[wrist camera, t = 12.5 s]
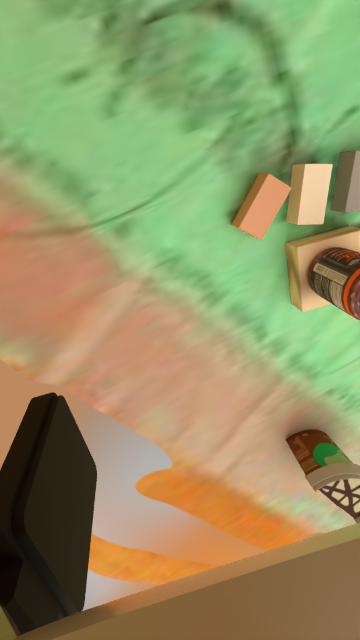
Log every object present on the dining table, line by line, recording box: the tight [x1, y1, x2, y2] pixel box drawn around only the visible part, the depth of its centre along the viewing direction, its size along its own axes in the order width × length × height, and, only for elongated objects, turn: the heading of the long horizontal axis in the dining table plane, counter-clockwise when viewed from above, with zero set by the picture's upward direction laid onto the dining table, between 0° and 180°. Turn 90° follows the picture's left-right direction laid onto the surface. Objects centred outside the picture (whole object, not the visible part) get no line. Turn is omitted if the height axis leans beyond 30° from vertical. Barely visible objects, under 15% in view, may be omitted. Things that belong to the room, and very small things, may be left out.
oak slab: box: [286, 226, 360, 312], centre depth 40 cm, size 8×8×3 cm
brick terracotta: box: [231, 173, 292, 240], centre depth 37 cm, size 6×3×3 cm, turn 152°
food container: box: [286, 430, 360, 523], centre depth 49 cm, size 12×6×10 cm, turn 44°
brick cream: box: [286, 164, 333, 225], centre depth 37 cm, size 6×3×3 cm, turn 0°
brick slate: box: [331, 151, 360, 212], centre depth 37 cm, size 6×3×3 cm, turn 0°
